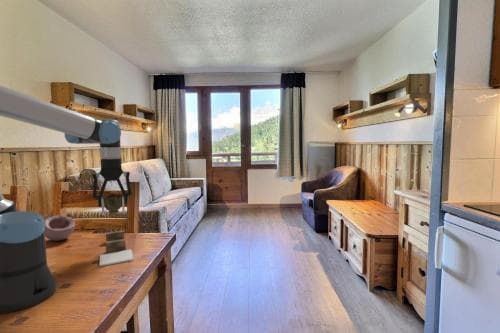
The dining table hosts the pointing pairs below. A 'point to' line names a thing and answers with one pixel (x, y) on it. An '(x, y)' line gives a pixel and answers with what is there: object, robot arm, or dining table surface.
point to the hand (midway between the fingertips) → (113, 213)
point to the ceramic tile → (116, 257)
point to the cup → (113, 203)
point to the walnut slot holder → (115, 241)
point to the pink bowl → (58, 227)
